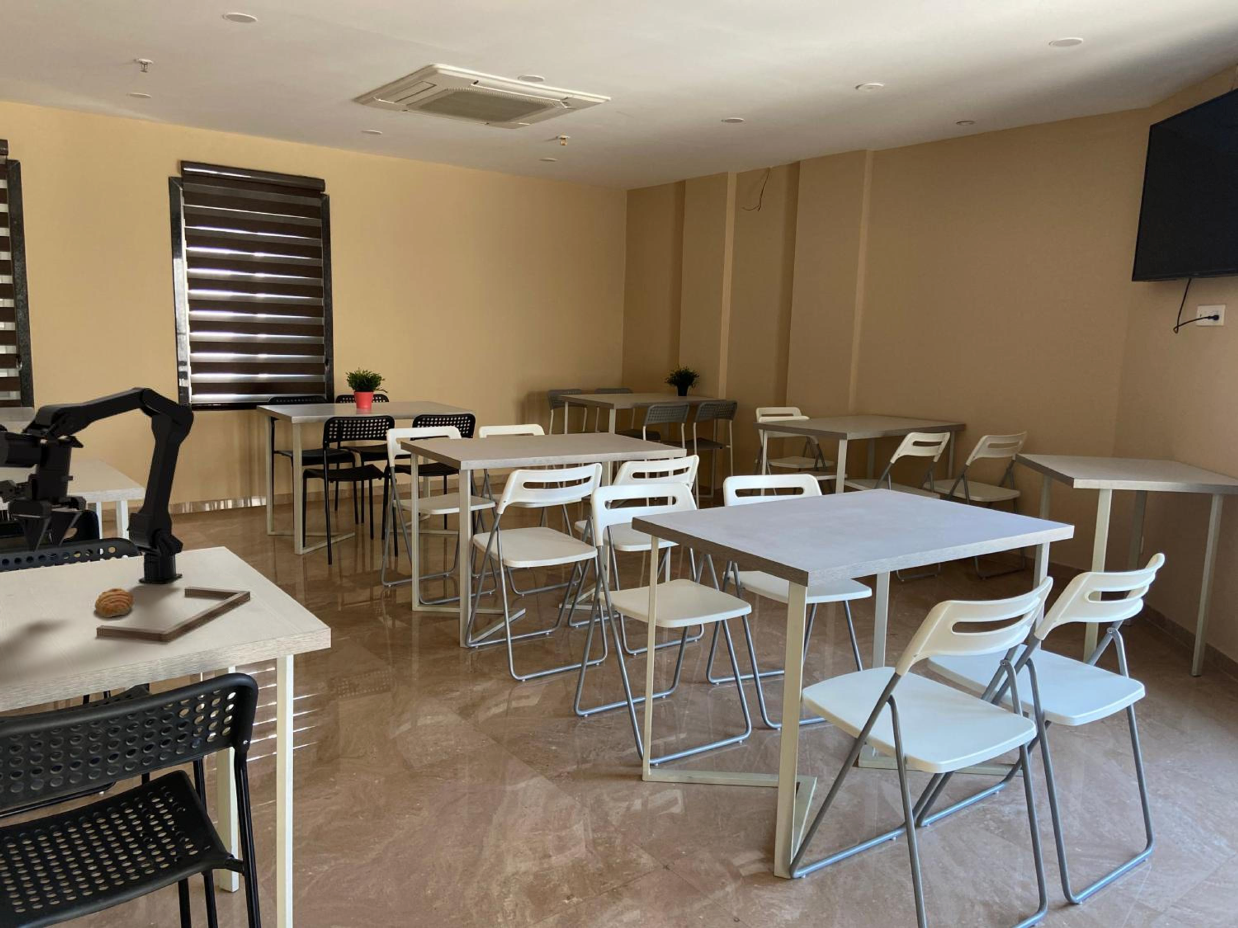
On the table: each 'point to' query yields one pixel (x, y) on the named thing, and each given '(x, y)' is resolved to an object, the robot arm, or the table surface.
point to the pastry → (114, 602)
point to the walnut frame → (184, 626)
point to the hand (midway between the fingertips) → (44, 548)
